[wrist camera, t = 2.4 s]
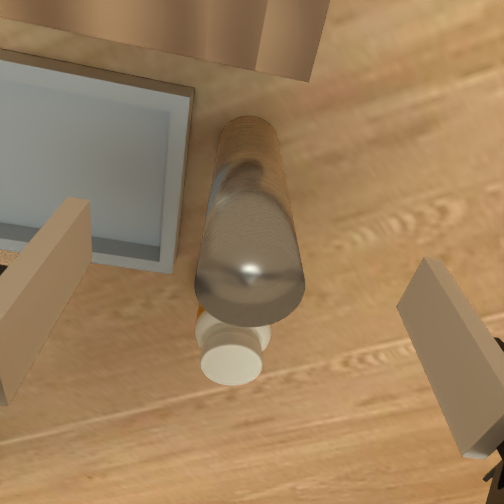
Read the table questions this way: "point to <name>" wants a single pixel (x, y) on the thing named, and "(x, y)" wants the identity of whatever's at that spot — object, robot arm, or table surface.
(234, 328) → the supplement bottle
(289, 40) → the wooden peg board
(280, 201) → the cylinder
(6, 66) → the tray
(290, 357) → the table surface
